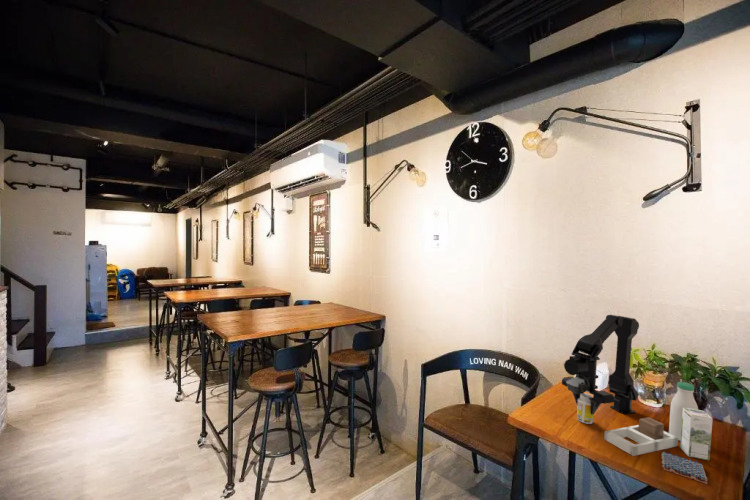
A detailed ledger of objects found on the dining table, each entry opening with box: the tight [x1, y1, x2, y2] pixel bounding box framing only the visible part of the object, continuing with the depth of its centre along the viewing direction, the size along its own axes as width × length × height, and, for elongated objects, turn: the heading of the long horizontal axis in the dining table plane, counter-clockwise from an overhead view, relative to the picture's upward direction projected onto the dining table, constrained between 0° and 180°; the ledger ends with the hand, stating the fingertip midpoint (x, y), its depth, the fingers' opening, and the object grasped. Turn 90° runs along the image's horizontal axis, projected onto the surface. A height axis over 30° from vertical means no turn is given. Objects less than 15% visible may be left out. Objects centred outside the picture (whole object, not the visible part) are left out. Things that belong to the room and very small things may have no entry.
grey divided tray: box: [603, 424, 679, 457], centre depth 123 cm, size 22×10×3 cm, turn 109°
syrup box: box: [679, 408, 713, 461], centre depth 117 cm, size 6×6×14 cm
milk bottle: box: [668, 381, 699, 442], centre depth 127 cm, size 8×8×20 cm
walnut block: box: [638, 417, 665, 440], centre depth 124 cm, size 5×5×7 cm
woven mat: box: [660, 450, 708, 485], centre depth 109 cm, size 10×11×2 cm
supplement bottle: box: [576, 392, 595, 425], centre depth 137 cm, size 6×6×10 cm
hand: (585, 410), depth 137 cm, fingers closed on supplement bottle, 5 cm apart
